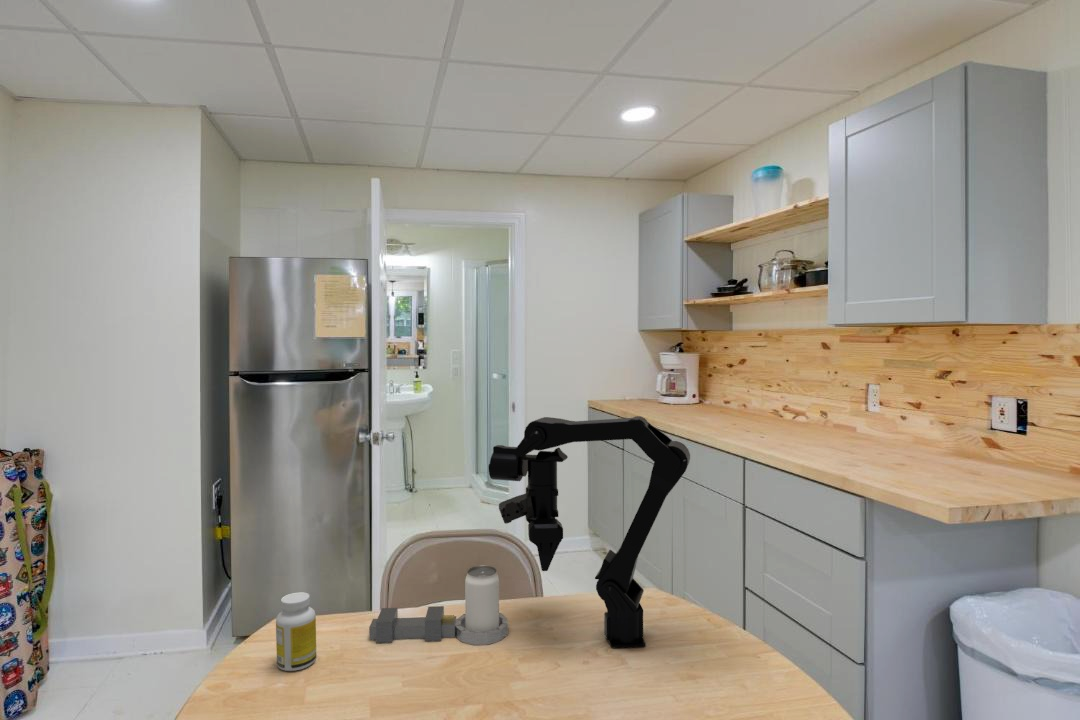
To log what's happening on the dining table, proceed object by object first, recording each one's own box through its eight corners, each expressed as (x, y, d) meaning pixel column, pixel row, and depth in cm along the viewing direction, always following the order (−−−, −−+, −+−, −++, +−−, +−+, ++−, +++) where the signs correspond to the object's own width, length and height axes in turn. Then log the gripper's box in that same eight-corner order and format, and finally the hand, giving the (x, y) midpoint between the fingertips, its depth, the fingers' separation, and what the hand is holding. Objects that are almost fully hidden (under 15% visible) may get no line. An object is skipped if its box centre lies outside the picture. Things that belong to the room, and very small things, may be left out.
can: (501, 625, 121) (501, 565, 120) (496, 640, 114) (495, 577, 114) (469, 624, 121) (468, 564, 121) (462, 639, 115) (461, 576, 115)
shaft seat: (507, 619, 123) (507, 599, 123) (508, 643, 113) (507, 622, 113) (376, 623, 121) (376, 604, 121) (365, 649, 111) (365, 627, 111)
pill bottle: (324, 658, 108) (323, 593, 108) (296, 676, 102) (294, 608, 102) (297, 650, 111) (296, 587, 111) (268, 667, 105) (267, 601, 105)
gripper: (500, 473, 128) (501, 547, 128) (501, 495, 109) (501, 582, 109) (553, 472, 128) (554, 545, 129) (563, 494, 110) (563, 580, 110)
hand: (542, 562), depth 119 cm, fingers open, 9 cm apart
